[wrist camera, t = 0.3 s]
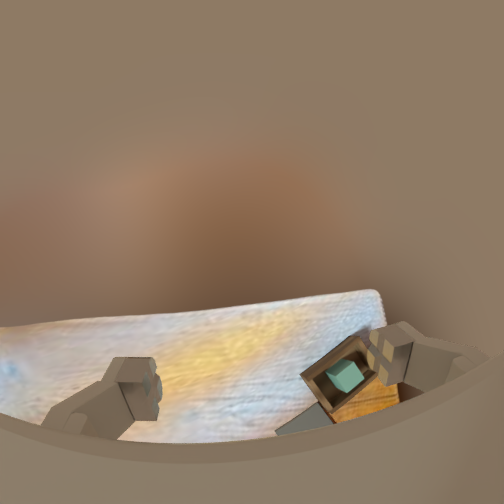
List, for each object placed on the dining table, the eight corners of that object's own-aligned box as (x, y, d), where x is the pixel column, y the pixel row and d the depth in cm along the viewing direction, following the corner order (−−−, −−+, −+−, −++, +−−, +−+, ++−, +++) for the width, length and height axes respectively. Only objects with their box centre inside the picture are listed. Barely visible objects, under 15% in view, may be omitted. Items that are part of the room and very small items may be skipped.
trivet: (340, 434, 56) (341, 435, 55) (300, 461, 53) (301, 463, 52) (316, 402, 58) (317, 402, 57) (274, 430, 55) (275, 431, 54)
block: (351, 374, 59) (364, 378, 52) (335, 387, 58) (347, 393, 51) (341, 358, 60) (353, 361, 53) (324, 371, 59) (335, 376, 52)
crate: (370, 369, 60) (381, 372, 55) (323, 407, 57) (331, 414, 52) (349, 335, 62) (359, 336, 57) (299, 374, 59) (305, 378, 54)
